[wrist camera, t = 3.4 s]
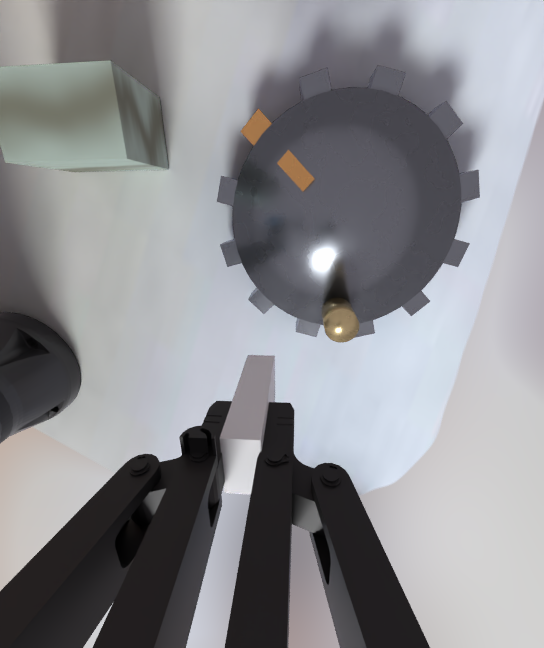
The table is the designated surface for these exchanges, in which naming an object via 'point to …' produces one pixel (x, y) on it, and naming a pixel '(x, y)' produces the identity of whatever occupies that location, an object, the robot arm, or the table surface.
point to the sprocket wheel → (347, 205)
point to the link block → (80, 118)
